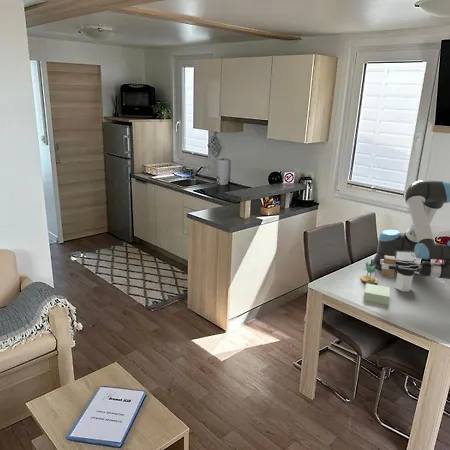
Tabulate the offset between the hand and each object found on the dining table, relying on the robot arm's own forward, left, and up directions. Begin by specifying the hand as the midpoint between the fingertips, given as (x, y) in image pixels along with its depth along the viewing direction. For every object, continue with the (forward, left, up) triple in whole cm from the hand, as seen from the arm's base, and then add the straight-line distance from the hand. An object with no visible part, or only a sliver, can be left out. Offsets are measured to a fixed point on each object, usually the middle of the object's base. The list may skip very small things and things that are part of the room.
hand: (381, 263), depth 213 cm
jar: (-18, +16, -20) cm, 31 cm away
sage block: (-1, 0, -20) cm, 20 cm away
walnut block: (0, +4, -6) cm, 7 cm away
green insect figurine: (-21, -1, -20) cm, 29 cm away
